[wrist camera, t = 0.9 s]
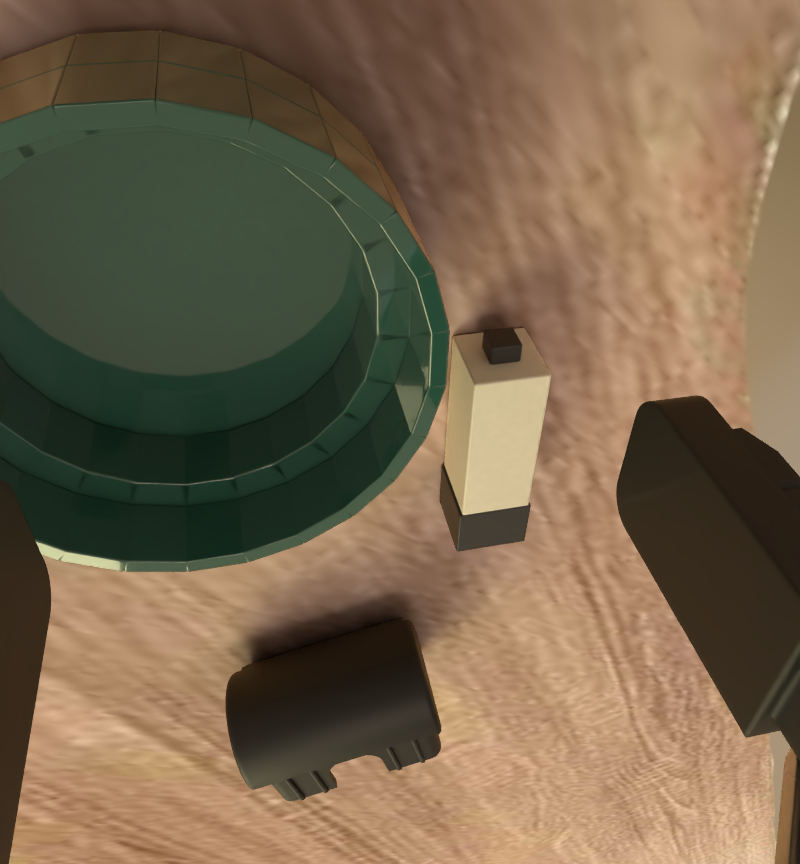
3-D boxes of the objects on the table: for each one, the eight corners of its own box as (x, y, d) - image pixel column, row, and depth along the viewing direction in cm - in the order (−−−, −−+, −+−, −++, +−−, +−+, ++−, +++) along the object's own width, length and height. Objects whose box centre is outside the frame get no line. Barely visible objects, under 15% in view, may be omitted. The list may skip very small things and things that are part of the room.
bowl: (-209, 40, 20) (-320, 128, 15) (410, 11, 22) (466, 79, 18) (5, 482, 30) (-24, 606, 26) (403, 428, 33) (437, 533, 29)
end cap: (401, 586, 41) (431, 703, 36) (425, 653, 46) (455, 763, 41) (220, 642, 41) (226, 766, 36) (264, 702, 45) (275, 819, 41)
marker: (450, 318, 30) (473, 367, 27) (529, 309, 30) (558, 357, 28) (439, 500, 37) (456, 552, 34) (503, 491, 37) (524, 541, 35)
